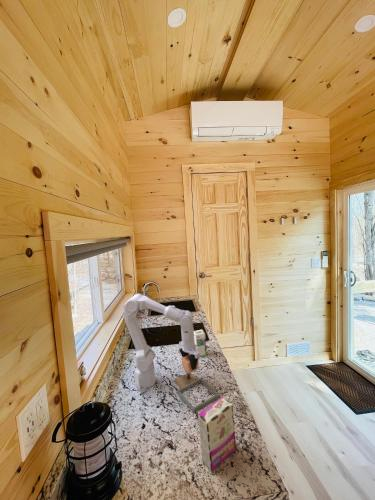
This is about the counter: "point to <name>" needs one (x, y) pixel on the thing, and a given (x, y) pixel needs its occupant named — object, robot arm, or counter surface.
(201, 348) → the syrup box
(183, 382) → the stake board
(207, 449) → the candy bar box
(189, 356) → the robot arm
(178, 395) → the tray
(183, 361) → the collar
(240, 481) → the counter surface
